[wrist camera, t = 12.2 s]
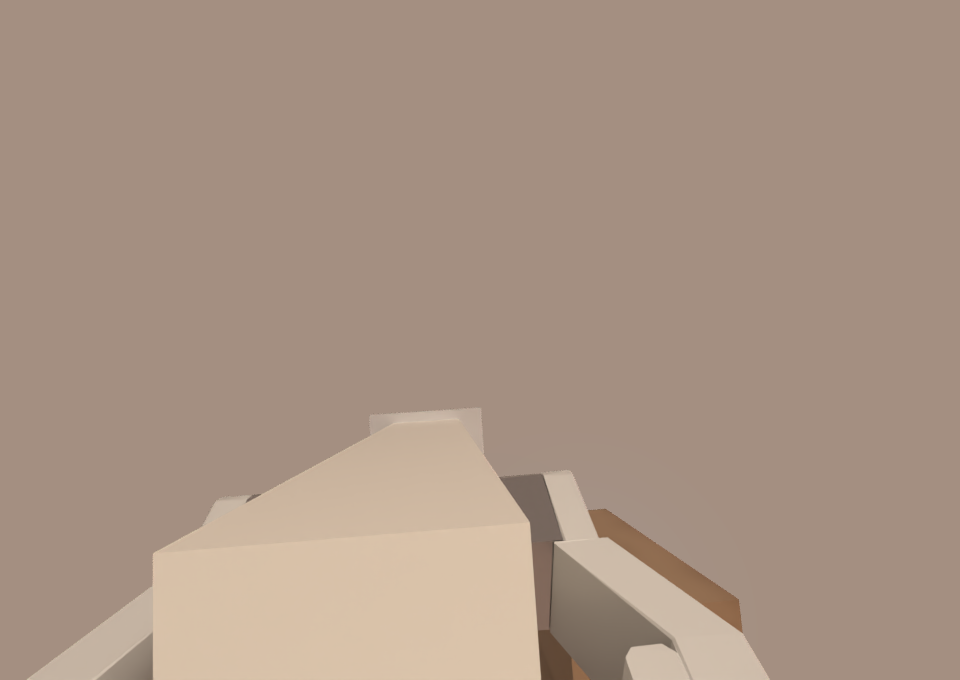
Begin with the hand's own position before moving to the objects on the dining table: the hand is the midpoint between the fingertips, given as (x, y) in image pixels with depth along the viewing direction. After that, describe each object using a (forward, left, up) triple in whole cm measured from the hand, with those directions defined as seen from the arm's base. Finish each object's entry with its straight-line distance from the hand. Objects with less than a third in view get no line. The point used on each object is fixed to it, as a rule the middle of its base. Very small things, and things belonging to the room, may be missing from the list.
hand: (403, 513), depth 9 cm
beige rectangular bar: (0, +5, -2) cm, 5 cm away
